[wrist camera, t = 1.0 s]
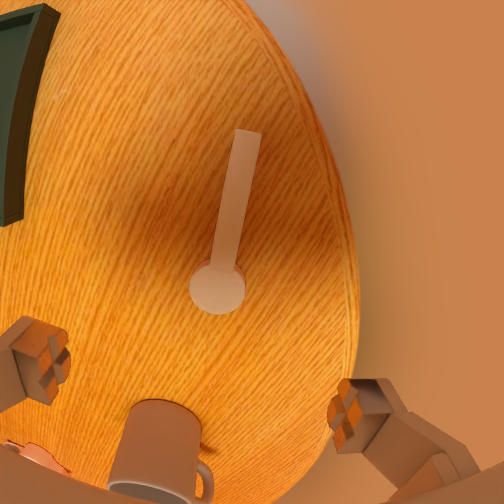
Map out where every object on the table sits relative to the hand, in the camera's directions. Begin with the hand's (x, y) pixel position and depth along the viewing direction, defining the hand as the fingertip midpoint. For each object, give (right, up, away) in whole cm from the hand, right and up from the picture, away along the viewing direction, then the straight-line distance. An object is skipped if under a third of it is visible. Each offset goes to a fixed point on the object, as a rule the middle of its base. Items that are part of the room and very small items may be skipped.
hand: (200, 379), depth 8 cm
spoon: (0, +6, +16) cm, 17 cm away
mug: (-7, -17, +23) cm, 30 cm away
